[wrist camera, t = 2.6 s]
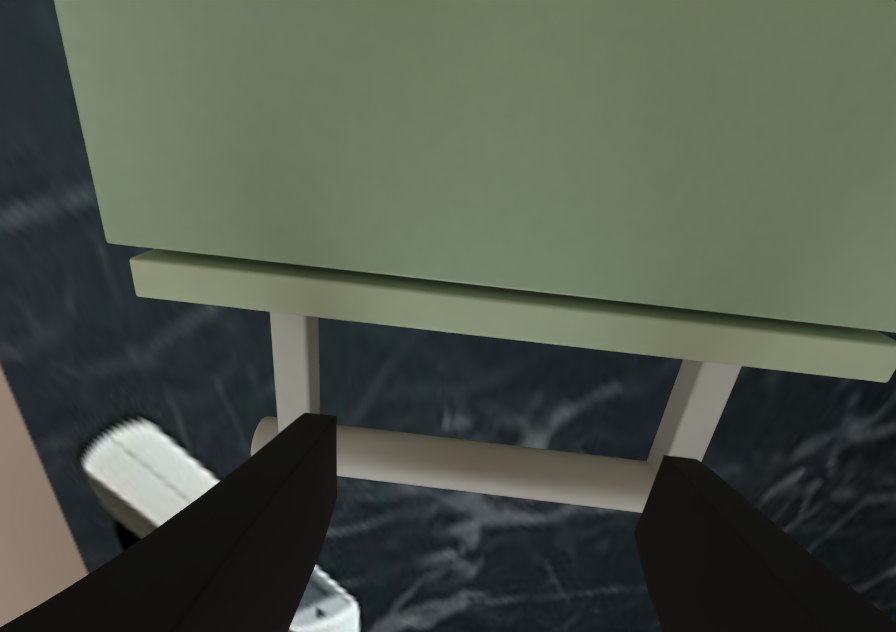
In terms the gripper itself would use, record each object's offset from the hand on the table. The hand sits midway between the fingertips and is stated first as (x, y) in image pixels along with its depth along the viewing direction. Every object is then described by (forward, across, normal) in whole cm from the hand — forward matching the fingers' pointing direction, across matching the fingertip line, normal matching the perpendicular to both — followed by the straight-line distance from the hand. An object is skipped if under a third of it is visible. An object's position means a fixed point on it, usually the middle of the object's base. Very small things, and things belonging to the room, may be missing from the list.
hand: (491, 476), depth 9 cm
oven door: (+10, 0, -1) cm, 10 cm away
